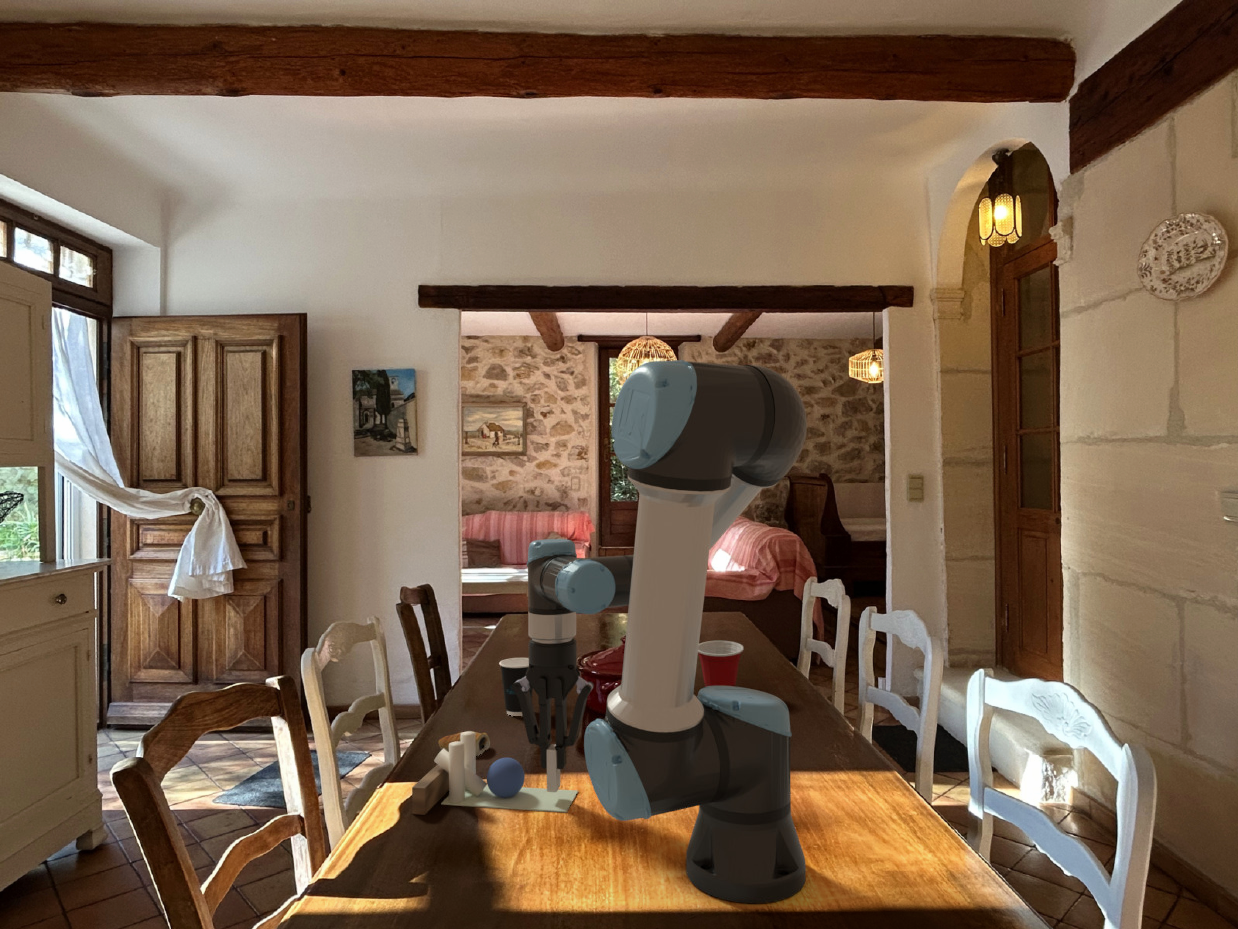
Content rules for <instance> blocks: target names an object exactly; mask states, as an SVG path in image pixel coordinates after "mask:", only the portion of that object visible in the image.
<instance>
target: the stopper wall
mask: <svg viewBox="0 0 1238 929" xmlns="http://www.w3.org/2000/svg"><path fill="white" fill-rule="evenodd" d="M448 791H449V773H448V772H447V771H445V770H444V769H443V768H442V767H440V766H439V765H438V764H437V763H436V765H435V766H434V767H432V769H430V770H429V771H428V772H427V773H426V774H425V775H424V776H423V777H422V778H421V779H420V780H419V781H417V782H416V783H415V784H414V785H413V786H412V787H411V794H412V795H411V797H412V798H411V802H412V804H411V805H412V806H411V807H412V809H411V811H412V813H411V814H412V815H420V816H421V815H422V816H425V815H426V814H427V813H428V812H430V810H431V809H432V808H433V807H434V806H435V805H436V804H438V802H439V801H440V800H441V799H442V798H443V796H445V795H446V793H447V792H448Z"/></svg>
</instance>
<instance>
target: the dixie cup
mask: <svg viewBox="0 0 1238 929" xmlns="http://www.w3.org/2000/svg"><path fill="white" fill-rule="evenodd" d="M498 664H499V665H500V672H501V680H502V682H501V683H502V687H503V688H502V689H503V698H504V699H503V700H504V707H505V711H506V715H507V714H508V715H507V716H509V715H511V716H510V717H513V716H521V717H523V715H522V711H521V707H520V703H519V699H518V697H517V695H516V693H515V692H514V690H513V689H512V685H513V684H514V683H515V682H516V681H517V680H518V679H522V678H524V677H525V676H526V672H527V670H528V667H529V657H512V658H506V659H502V660H500V661H499V663H498ZM529 686H530V689H529V692H530V695H531V699H533V691H534V689H533V687H532V686H531V684H530V683H529Z"/></svg>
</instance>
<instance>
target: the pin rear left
mask: <svg viewBox="0 0 1238 929" xmlns="http://www.w3.org/2000/svg"><path fill="white" fill-rule="evenodd" d="M461 732H462V733H461V734H460V741H461V742H464V758H465V766H466V767H467V768H469V769H470V770H471V771H472V772H474V773H475V774H476V773H477V770H476V768H477V767H476V765H477V764H476V763H477V761H476V759H477V757H476V747H475V732H476V731H473V732H472V730H467V731H464V732H463V731H461ZM476 775H477V774H476ZM465 791H469V789H467V788H466V787H465Z"/></svg>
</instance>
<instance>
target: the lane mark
mask: <svg viewBox="0 0 1238 929" xmlns="http://www.w3.org/2000/svg"><path fill="white" fill-rule="evenodd" d="M578 793H579V790H576V789H575V790H572V789H560V788H559V789H558V790H557V792H547V788H539V787H538V788H537V787H523V786H522V788H521V790H520V791H519V792H518V793H517V794H515V795H514V796H512V797H509V798H501V797H498V796H496V795H494V794H493V793H492V792H491V791H490V789H489V787H488V785H486V787H485V788H484V789H483V791H482V792H481V793H480V794H479V796H478V797H477V796H476V795H475V794H474V793H472V792H471V791H470V790H469V791H465V800H464V801H463V802H461V803H451V802H450V801H449V795H447V797H446V798H444V800H443V801H442V802H441V805H442V806H443V805H444V806H446V805H447V806H456V807H457V806H461V807H472V808H473V807H474V808H475V807H477V808H492V809H505V810H507V809H508V810H523V811H537V812H552V813H553V812H554V813H567V812H568V811H569V809H570V807H571V806H570V805H572V804H573V802H574V800H575V798H576V797H577V795H578ZM576 794H577V795H576ZM572 801H573V802H572Z"/></svg>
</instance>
